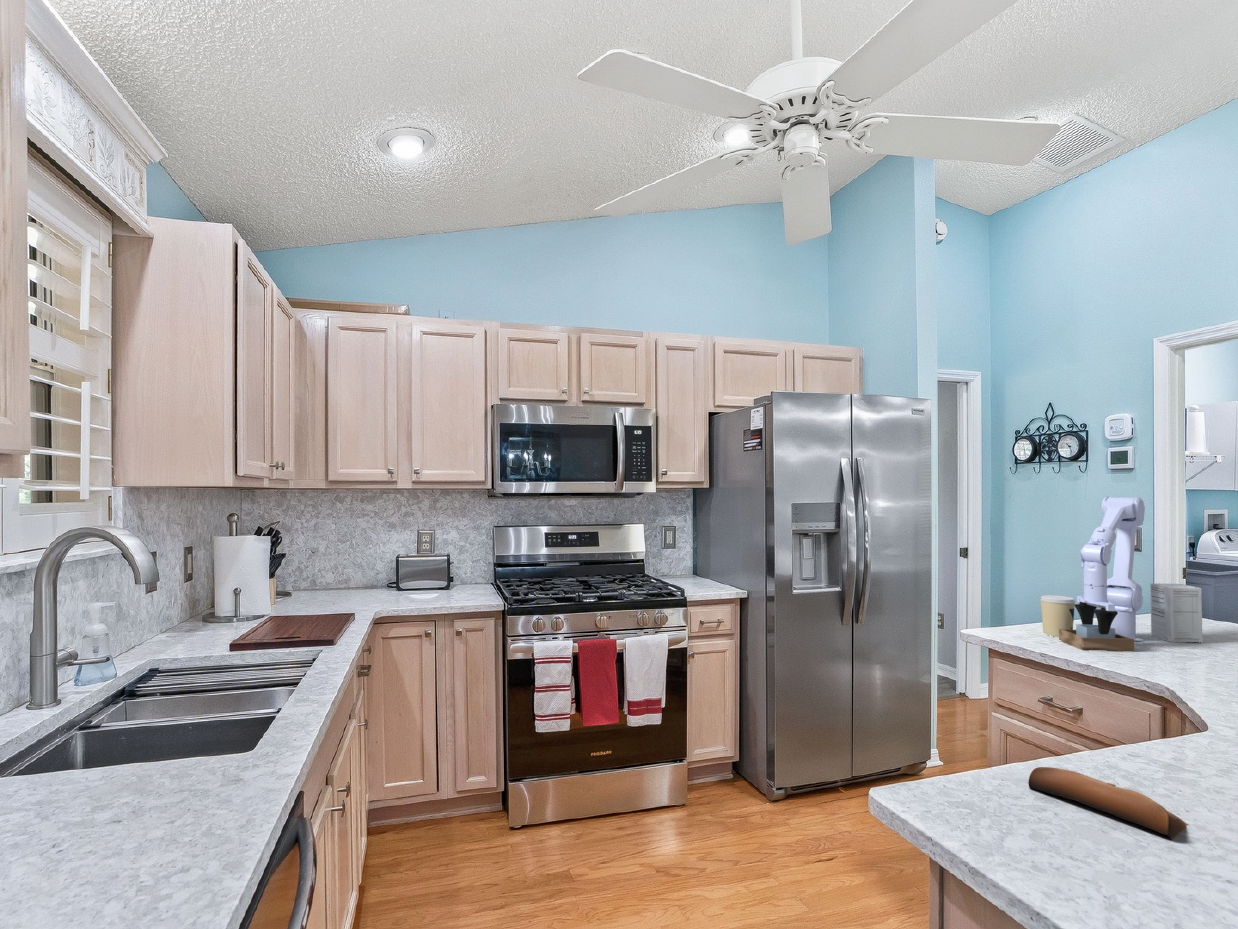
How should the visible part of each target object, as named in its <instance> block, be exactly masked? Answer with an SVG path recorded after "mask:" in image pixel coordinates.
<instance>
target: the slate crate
mask: <svg viewBox="0 0 1238 929" xmlns="http://www.w3.org/2000/svg"><path fill="white" fill-rule="evenodd" d="M1075 628H1076V629H1075V630H1076V635H1079V636H1082V637H1085V638H1115V628H1112V627H1110V630H1109V634H1100V633H1099V629H1098V624H1093V625H1084V624H1082V623H1081V624H1080V623H1079V624H1077V623H1076V626H1075Z"/></svg>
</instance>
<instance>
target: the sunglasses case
mask: <svg viewBox="0 0 1238 929" xmlns="http://www.w3.org/2000/svg"><path fill="white" fill-rule="evenodd" d="M1030 772H1031V773H1030V774H1029V777H1028V782H1027V783H1028V788H1029V789H1031V790H1033V789H1034V790H1035V791H1036V790H1037V791H1040V792H1044V793H1047V794H1051V795H1054V796H1058V797H1062V798H1064V799H1067V800H1072V801H1077V802H1078V803H1080V804H1083V805H1085V806H1088V807H1090V808H1093V809H1094V810H1098V811H1102V812H1106V813H1109V814H1111V815H1113V816H1115V817H1117V818H1119V819H1123V820H1125V821H1128V822H1131V823H1133V824H1137V825H1140V826H1142V827H1145V828H1147V829H1150V830H1153V831H1155V832H1157V833H1160V834H1161V835H1164V836H1165V835H1166V836H1167V837H1168V839H1170V840H1173V839H1174V838H1176V837H1177V835H1179V834H1180V833H1182V832H1183V831H1184V830H1185V829H1186V828H1187V826H1189V825H1190V824H1189V823H1187V822H1186V821H1184V820H1183V819H1182V818H1180V817H1179V816H1177V815H1175V814H1173V813H1172V812H1170V811H1168V810H1167V809H1166V808H1165V807H1164V806H1163V805H1161V804H1160V803H1158V802H1156V801H1155V800H1153V799H1152V798H1150V797H1148V796H1147V795H1145V794H1142V793H1140V792H1139V791H1136V790H1133V789H1129V788H1124V787H1118V786H1116V785H1115V784H1113V783H1111V782H1103V781H1102V780H1099V779H1096V778H1094V777H1090V776H1088V775H1085V774H1084V773H1080V772H1078V771H1077V772H1076V771H1073V770H1069V769H1065V768H1057V767H1049V766H1048V767H1047V766H1038V767H1036V768H1033V770H1031V771H1030Z"/></svg>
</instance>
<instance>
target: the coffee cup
mask: <svg viewBox="0 0 1238 929" xmlns="http://www.w3.org/2000/svg"><path fill="white" fill-rule="evenodd" d="M1039 601H1040V608H1041V620H1042V633H1045V634H1047V635H1051V636H1055V637H1054V638H1056V637H1059V629H1068V630H1074V620H1075V604H1076V601H1075V599H1074V598H1073V597H1069V596H1063V595H1055V594H1053V595H1052V594H1045V595H1043V594H1042V595H1041V596H1040V599H1039Z"/></svg>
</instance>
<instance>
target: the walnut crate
mask: <svg viewBox="0 0 1238 929" xmlns="http://www.w3.org/2000/svg"><path fill="white" fill-rule="evenodd" d="M1058 640H1061V641H1062V643H1064V644H1066V643H1067V645H1069V644H1071V645H1073V646H1072V647H1074V646H1075V647H1074V648H1076V647H1077V649H1079V650H1082V651H1089V650H1107V651H1106V652H1123V651H1134V652H1135V641H1134V639H1131V638H1128V637H1125V636H1122V635H1119V634H1116V633H1115V638H1085V637H1082V636H1079V635H1076V629H1073V630H1068V629H1059V638H1058ZM1061 641H1060V642H1061ZM1071 645H1070V646H1071Z"/></svg>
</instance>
